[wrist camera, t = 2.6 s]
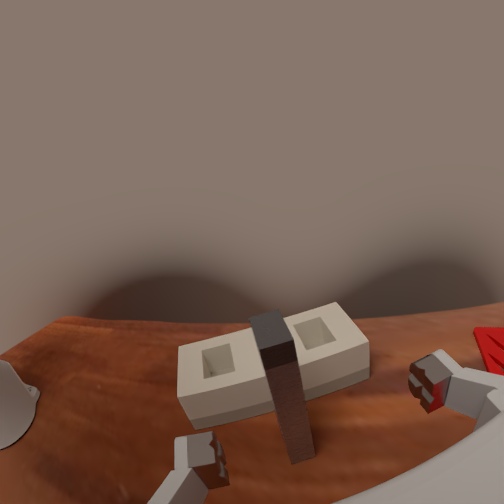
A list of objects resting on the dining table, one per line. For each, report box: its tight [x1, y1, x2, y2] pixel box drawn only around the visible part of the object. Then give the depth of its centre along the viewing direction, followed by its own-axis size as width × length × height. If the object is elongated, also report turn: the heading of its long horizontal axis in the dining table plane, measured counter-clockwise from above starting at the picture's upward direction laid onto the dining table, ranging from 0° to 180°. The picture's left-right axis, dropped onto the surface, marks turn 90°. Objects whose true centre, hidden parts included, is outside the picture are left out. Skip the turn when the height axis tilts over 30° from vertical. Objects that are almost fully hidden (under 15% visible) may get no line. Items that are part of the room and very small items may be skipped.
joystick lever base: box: [177, 302, 369, 430], centre depth 39 cm, size 22×10×6 cm, turn 100°
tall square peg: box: [249, 309, 315, 464], centre depth 27 cm, size 4×2×16 cm, turn 10°
